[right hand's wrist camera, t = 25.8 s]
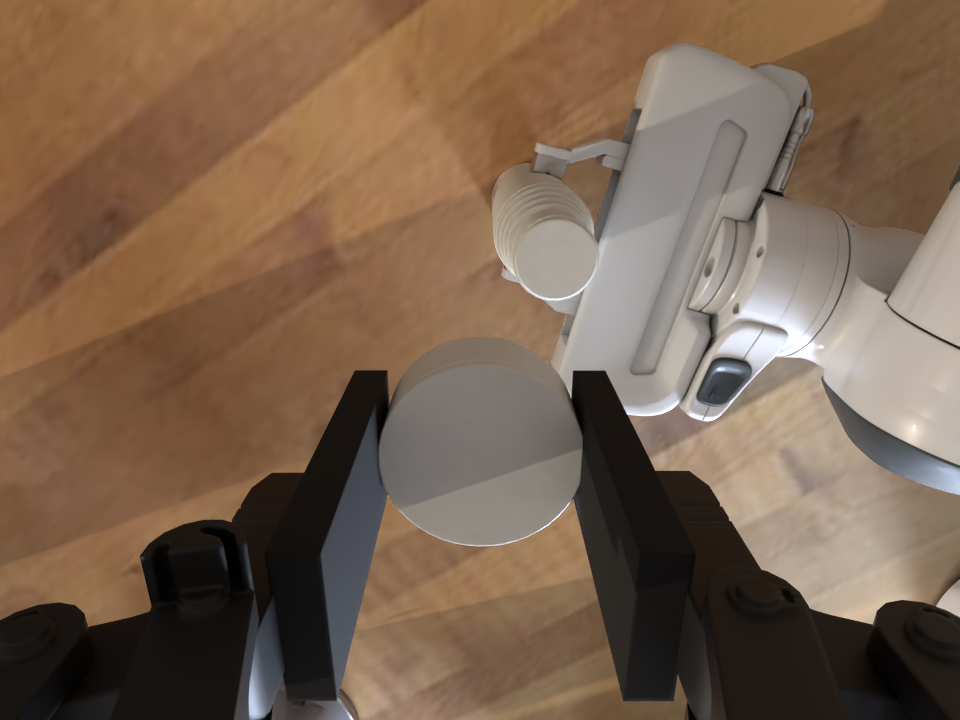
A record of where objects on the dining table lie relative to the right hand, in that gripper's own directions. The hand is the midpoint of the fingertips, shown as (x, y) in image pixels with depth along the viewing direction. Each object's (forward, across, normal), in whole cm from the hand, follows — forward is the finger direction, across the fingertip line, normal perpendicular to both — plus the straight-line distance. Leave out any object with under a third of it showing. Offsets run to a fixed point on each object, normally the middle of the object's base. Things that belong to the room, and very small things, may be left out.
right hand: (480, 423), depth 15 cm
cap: (-2, 0, 0) cm, 2 cm away
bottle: (+28, +3, +2) cm, 29 cm away
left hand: (+22, +2, +2) cm, 22 cm away
